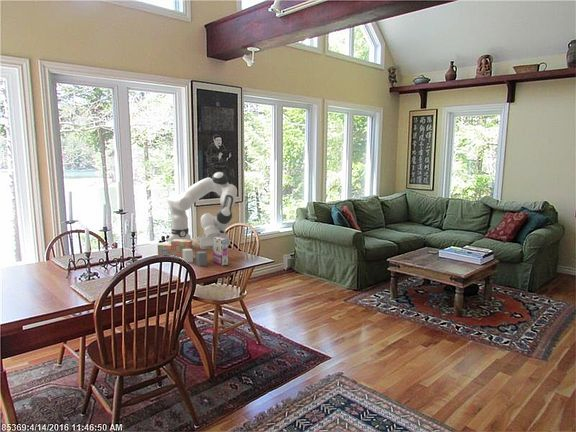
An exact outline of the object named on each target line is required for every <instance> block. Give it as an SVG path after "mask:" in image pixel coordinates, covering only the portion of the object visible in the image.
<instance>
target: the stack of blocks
mask: <svg viewBox="0 0 576 432" xmlns="http://www.w3.org/2000/svg"><path fill="white" fill-rule="evenodd" d="M192 245H193V240H192V239H191V240H186V239H174V240H172V241H171V244H170V243H169V242H166V243H165V242H161V243H159V244H157V256H158V255H174V256H177V257H181V258H183V255H182V249H189V248H190V249H192V250H193V246H192Z"/></svg>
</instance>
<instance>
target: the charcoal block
mask: <svg viewBox="0 0 576 432" xmlns="http://www.w3.org/2000/svg"><path fill="white" fill-rule="evenodd" d="M195 257H196V258H195V261H196V262H195V263H196V266H198V267H204V266H208V253H207V251H205V250H200V251H199V250H198V251H195Z"/></svg>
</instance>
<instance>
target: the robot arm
mask: <svg viewBox="0 0 576 432" xmlns="http://www.w3.org/2000/svg"><path fill="white" fill-rule="evenodd" d="M211 192H213V195H215V196H216V197H218V198H219V203H220V205H221V206H222V207H221V208H219V209H218V211H217V213H216V216H215V215H214V214H213V215H212V214H211V213H210V212H206V213H204V214H203V215H201V216H200V218H199V219H200V225H201V228H202V229H203V234H204V235H199V236H197V242H198V244H199V248H200V250H207V249H212V250H213V237H222V238H225V239H228V247H229V246H230V245H231V239H230V238H229V236H228V235H227V234H226V229H227V228H228V226H229V224H230V221H231V220H232V218H233V212H232V208H233V207H234V205H235V203H236V200H237V197H238V189H237V187H236V185H234V184H231V183H229V178H228V177H227V175H226V174H225V172H223V171H216V172H215V173H213V175H212V178H211V177H205V178H203V179H201V180H199V181H197V182H195V183H194V184H192V185H191V186H188V188H187V189H186V190H185V191H184V192H182V193H181V194H180V193H173V194H171V195H169V196H168V199H167V202H168V205H169V210H170V216H171V227H172V228H171V232H170V235H169V237H168V238H166V243H170V244H171V241H172V240H174V239H186V240H192V239H191V234H189V219H188V218H189V217H188V216H187V212H186V211H188V210H189V209H190V208H191V207H192V206H193V204H195V203H196V202H197V201H198V200H200V199H201V198H203V197H204V196H206V195H207V194H209V193H211ZM193 246H194V244H192V247H193Z"/></svg>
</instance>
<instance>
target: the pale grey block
mask: <svg viewBox="0 0 576 432" xmlns="http://www.w3.org/2000/svg"><path fill="white" fill-rule="evenodd" d="M182 255H183V259H184V260H185V261H187V262H189V264H190V263H193V262H194V253H193V248H192V249H190V248H189V249H182Z"/></svg>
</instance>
